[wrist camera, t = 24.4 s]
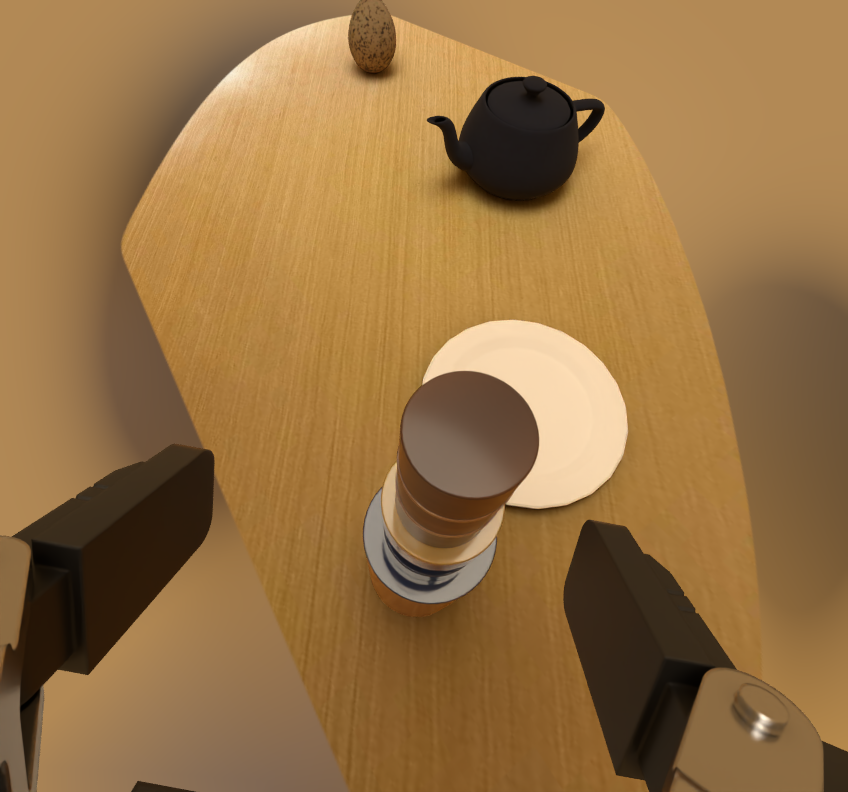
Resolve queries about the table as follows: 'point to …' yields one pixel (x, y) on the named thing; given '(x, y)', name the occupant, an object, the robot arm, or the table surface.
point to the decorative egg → (372, 36)
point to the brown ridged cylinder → (461, 455)
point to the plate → (549, 404)
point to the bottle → (421, 559)
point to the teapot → (520, 137)
